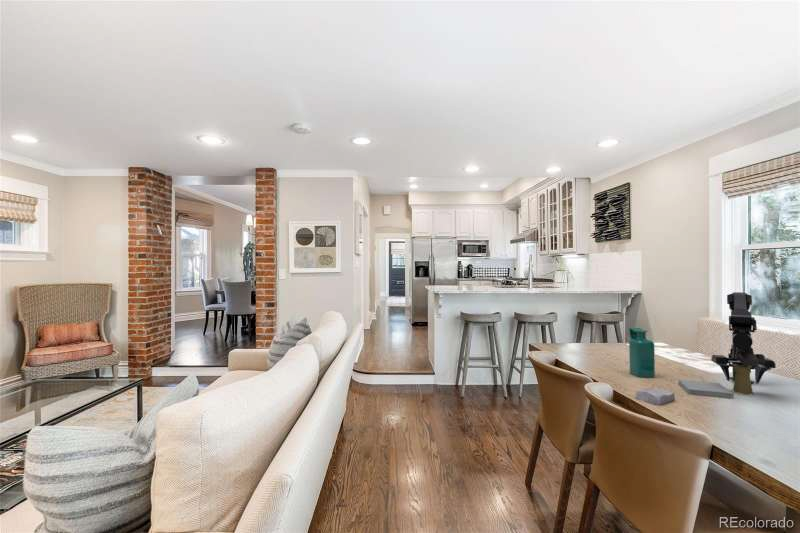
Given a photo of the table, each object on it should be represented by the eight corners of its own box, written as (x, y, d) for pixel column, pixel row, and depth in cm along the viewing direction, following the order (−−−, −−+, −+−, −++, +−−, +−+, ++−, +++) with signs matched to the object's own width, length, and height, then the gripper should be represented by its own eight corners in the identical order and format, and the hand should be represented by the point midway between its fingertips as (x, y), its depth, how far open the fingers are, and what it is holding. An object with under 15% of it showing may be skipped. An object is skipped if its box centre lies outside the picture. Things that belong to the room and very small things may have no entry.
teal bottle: (657, 377, 170) (656, 330, 171) (639, 377, 171) (638, 331, 171) (643, 371, 180) (642, 327, 180) (626, 371, 180) (625, 327, 181)
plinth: (678, 383, 160) (678, 379, 160) (718, 387, 155) (718, 383, 155) (689, 394, 148) (688, 389, 148) (733, 398, 142) (732, 393, 142)
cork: (757, 394, 146) (756, 367, 146) (739, 394, 147) (738, 366, 147) (746, 389, 152) (745, 363, 152) (729, 389, 153) (728, 363, 153)
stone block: (634, 403, 144) (661, 406, 135) (631, 390, 145) (658, 392, 136) (650, 399, 149) (678, 401, 141) (648, 387, 150) (675, 388, 142)
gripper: (721, 346, 146) (722, 385, 146) (783, 350, 138) (784, 390, 138) (710, 341, 156) (711, 377, 156) (767, 344, 149) (768, 382, 149)
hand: (742, 382), depth 149 cm, fingers open, 9 cm apart
